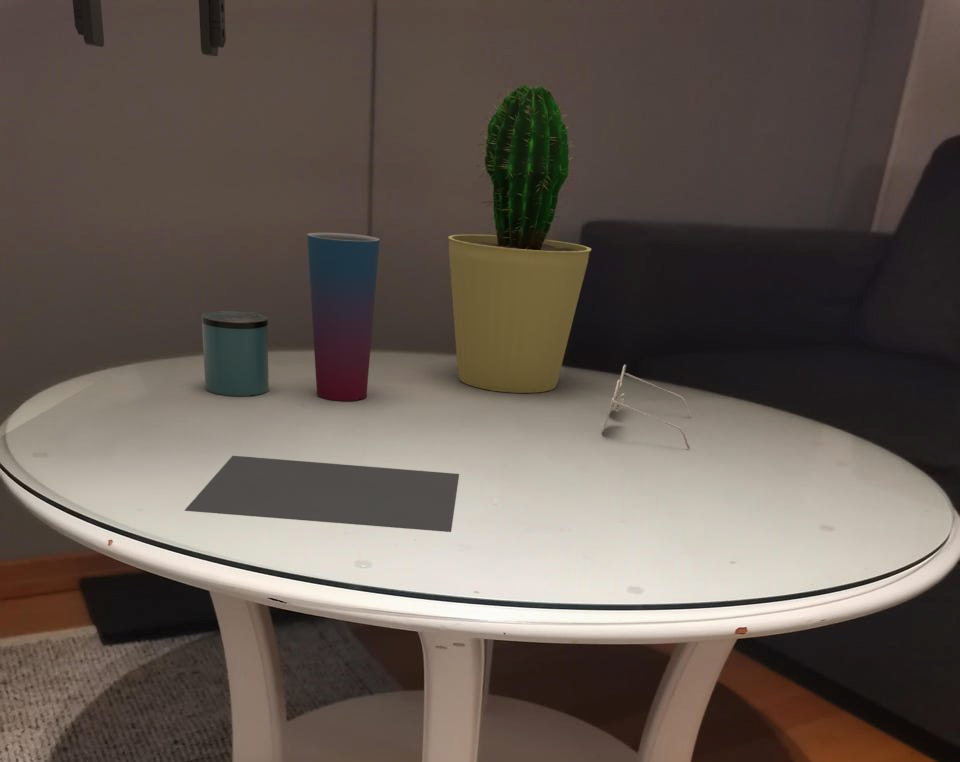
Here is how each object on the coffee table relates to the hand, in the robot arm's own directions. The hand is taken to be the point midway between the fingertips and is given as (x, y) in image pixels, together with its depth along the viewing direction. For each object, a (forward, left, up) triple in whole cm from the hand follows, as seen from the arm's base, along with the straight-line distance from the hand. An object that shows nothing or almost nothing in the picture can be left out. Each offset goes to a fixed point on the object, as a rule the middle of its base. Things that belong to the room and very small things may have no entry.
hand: (151, 50), depth 72 cm
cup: (+12, +16, -28) cm, 35 cm away
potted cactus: (+29, +29, -28) cm, 50 cm away
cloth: (+16, -15, -28) cm, 36 cm away
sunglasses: (+43, +13, -28) cm, 53 cm away
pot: (+2, +18, -28) cm, 33 cm away
